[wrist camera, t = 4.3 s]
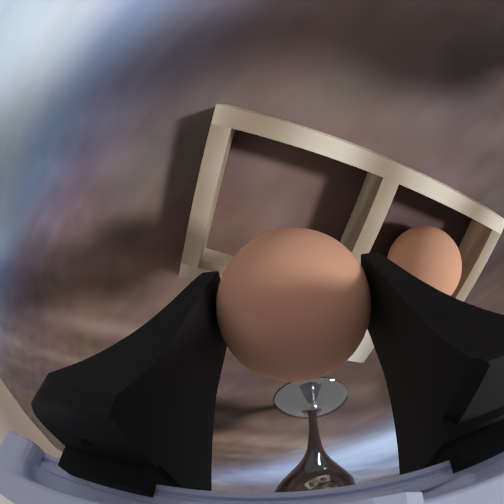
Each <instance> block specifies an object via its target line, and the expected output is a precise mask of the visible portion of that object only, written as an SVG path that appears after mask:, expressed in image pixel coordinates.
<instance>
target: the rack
mask: <svg viewBox="0 0 504 504" xmlns="http://www.w3.org/2000/svg"><path fill="white" fill-rule="evenodd" d="M235 129H236V130H240V131H244V132H247V133H251V134H255V135H259V136H262V137H266V138H269V139H273V140H276V141H280V142H283V143H286V144H289V145H293V146H296V147H299V148H302V149H305V150H309V151H312V152H315V153H318V154H321V155H324V156H326V157H329V158H332V159H335V160H338V161H341V162H344V163H346V164H349V165H352V166H354V167H357V168H360V169H362V170H365V171H368V173H367V175H366V178H365V180H364V183H363V186H362V188H361V191H360V193H359V196H358V198H357V201H356V204H355V206H354V209H353V211H352V213H351V216H350V218H349V221H348V223H347V226H346V228H345V230H344V233H343V235H342V238H341V240H340V243H341V244H343V245H344V246H345V247H346V248H347V249H348V250H349V251H350V252H351V253H352V254H353V255H354V256H355V258H356V259H357V260H358V262H359V263H360V265H361V254H366V253H369V252H370V250H371V248H372V246H373V244H374V242H375V239H376V237H377V235H378V233H379V231H380V228H381V226H382V224H383V222H384V219H385V217H386V215H387V212H388V210H389V208H390V205H391V203H392V201H393V198H394V196H395V193H396V191H397V188H398V186H399V184H400V185H402V186H404V187H407V188H409V189H411V190H414V191H416V192H418V193H420V194H423V195H425V196H427V197H429V198H431V199H433V200H436V201H438V202H440V203H442V204H444V205H446V206H448V207H450V208H452V209H454V210H456V211H458V212H460V213H462V214H464V215H466V216H468V217H470V218H472V220H471V222H470V224H469V226H468V228H467V231H466V233H465V235H464V237H463V239H462V241H461V243H460V245H459V247H458V249H459V252H460V255H461V260H462V273H461V278H460V281H459V283H458V286H457V288H456V289H455V291H454V292H453V294H452V295H451V296H452V297H454V298H456V299H458V300H460V301H463V302H464V300H465V299H466V297H467V295H468V294H469V292H470V290H471V289H472V287H473V285H474V284H475V282H476V280H477V279H478V277H479V275H480V273H481V272H482V270H483V268H484V266H485V264H486V262H487V261H488V259H489V257H490V255H491V253H492V251H493V249H494V247H495V245H496V243H497V241H498V239H499V237H500V235H501V233H502V230H503V228H504V219H503V218H502V217H501V216H499V215H498V214H496V213H495V212H493V211H492V210H490V209H489V208H487V207H486V206H484V205H482V204H481V203H479V202H477V201H475V200H474V199H472V198H470V197H468V196H466V195H465V194H463V193H461V192H459V191H457V190H455V189H453V188H452V187H450V186H448V185H446V184H444V183H442V182H440V181H438V180H436V179H434V178H432V177H430V176H428V175H426V174H424V173H422V172H419V171H417V170H415V169H413V168H411V167H409V166H407V165H404V164H402V163H400V162H398V161H395V160H393V159H391V158H388V157H386V156H384V155H381V154H379V153H376V152H374V151H372V150H369V149H367V148H364V147H362V146H359V145H356V144H354V143H351V142H349V141H346V140H343V139H340V138H338V137H335V136H332V135H329V134H326V133H324V132H321V131H318V130H315V129H312V128H309V127H306V126H303V125H299V124H296V123H293V122H290V121H286V120H283V119H280V118H276V117H273V116H269V115H266V114H262V113H258V112H255V111H251V110H247V109H243V108H239V107H235V106H231V105H227V104H216V106H215V110H214V114H213V118H212V122H211V126H210V130H209V133H208V138H207V142H206V146H205V150H204V154H203V158H202V163H201V167H200V171H199V176H198V180H197V185H196V189H195V194H194V199H193V203H192V208H191V213H190V218H189V223H188V228H187V233H186V238H185V244H184V249H183V255H182V260H181V266H180V272H179V277H180V278H183V279H187V280H190V281H193V280H194V279H195V278H197V277H198V276H199V275H200V274H201V273H204V272H214V271H218V272H219V276H220V279H221V278H222V275H223V273H224V271H225V269H226V267H227V265H228V264H229V262H230V261H231V260H232V258H233V257H234V256H233V255H229V254H226V253H222V252H218V251H215V250H211V249H207V248H206V245H207V241H208V236H209V232H210V228H211V224H212V219H213V215H214V211H215V207H216V203H217V199H218V195H219V191H220V187H221V183H222V179H223V175H224V171H225V167H226V163H227V159H228V155H229V152H230V148H231V144H232V140H233V137H234V133H235ZM373 348H374V345H373V342H372V340H371V337H370V334H369V332H368V329H367V331H366V333H365V336H364V338H363V340H362V342H361V343H360V345H359V347H358V348H357V350H356V351H355V352H354V354H353V355H352V356H351V357H350V358H349V359H348V361H354V362H360V363H363V362H364V361H365V359H366V358H367V357H368V355H369V354H370V352H371V351H372V350H373Z"/></svg>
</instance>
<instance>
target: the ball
mask: <svg viewBox="0 0 504 504" xmlns="http://www.w3.org/2000/svg"><path fill="white" fill-rule="evenodd" d="M387 258H388V259H389V260H391V261H392V262H394V263H395V264H397V265H398V266H400V267H401V268H403V269H404V270H406V271H407V272H409V273H410V274H412V275H414V276H415V277H417V278H418V279H420V280H422V281H423V282H425V283H427V284H429V285H430V286H432V287H434V288H436V289H437V290H439V291H441V292H443V293H445V294H447V295H450V296H451V295H452V294H453V292H454V291H455V289H456V288H457V286H458V283H459V281H460V278H461V273H462V260H461V255H460V252H459V249H458V247H457V245H456V244H455V242H454V241H453V239H452V238H451V237H450V236H449V235H448V234H446V233H445V232H444V231H442V230H440V229H438V228H435V227H431V226H417V227H413V228H411V229H408V230H407V231H405V232H404V233H402V234H401V235H400V236H399V237H398V238H397V239H396V240H395V241H394V243H393V244H392V246H391V248H390V250H389V252H388V256H387Z"/></svg>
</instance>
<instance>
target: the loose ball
mask: <svg viewBox="0 0 504 504" xmlns="http://www.w3.org/2000/svg"><path fill="white" fill-rule="evenodd" d="M216 314H217V321H218V325H219V328H220V331H221V334H222V337H223V339H224V341H225V342H226V344H227V346H228V348H229V349H230V351H231V352H232V353H233V354H234V356H235V357H236V358H237V359H238V360H239V361H240V362H241V363H242V364H243V365H245V366H246V367H247V368H249V369H250V370H252V371H253V372H255V373H257V374H259V375H261V376H263V377H266V378H269V379H272V380H276V381H281V382H305V381H310V380H314V379H317V378H320V377H322V376H325V375H327V374H329V373H331V372H333V371H334V370H336V369H337V368H339V367H340V366H341V365H343V364H344V363H345V362H346V361H347V360H348V359H349V358H350V357H351V356H352V355H353V354H354V352H355V351H356V350H357V348H358V347H359V345H360V343H361V342H362V340H363V338H364V336H365V333H366V331H367V328H368V325H369V320H370V315H371V294H370V287H369V284H368V281H367V278H366V275H365V272H364V270H363V268H362V266H361V265H360V263H359V262H358V260H357V259H356V258H355V256H354V255H353V254H352V253H351V252H350V251H349V250H348V249H347V248H346V247H345V246H344V245H343V244H341V243H340V242H339V241H337V240H336V239H334V238H332V237H331V236H329V235H327V234H324V233H321V232H319V231H316V230H312V229H307V228H283V229H277V230H273V231H270V232H267V233H265V234H262V235H260V236H258V237H257V238H255V239H253V240H252V241H250V242H249V243H247V244H246V245H245V246H243V247H242V248H241V249H240V250H239V251H238V252H237V253H236V254H235V256H234V257H233V258H232V260H231V261H230V262H229V264H228V265H227V267H226V269H225V271H224V273H223V275H222V278H221V280H220V283H219V286H218V292H217V298H216Z"/></svg>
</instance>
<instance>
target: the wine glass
mask: <svg viewBox="0 0 504 504" xmlns="http://www.w3.org/2000/svg"><path fill="white" fill-rule="evenodd" d="M347 397H348V391H347V388H346V387H345V385H344V384H342V383H341V382H339V381H337V380H334V379H331V378H326V377H320V378H317V379H314V380H310V381H305V382H291V383H289V384H287V385H285V386H284V387H282V388H281V389H280V390H279V391H278V392H277V393H276V395H275V398H274V404H275V406H276V408H277V409H278V410H279V411H280V412H281V413H283V414H285V415H287V416H290V417H294V418H301V419H309V437H308V446H307V451H306V453H305V455H304V457H303V459H302V460H301V461H300V463H299V464H298V465H297V466H296V467H295V468H294V469H293V470H292V471H291V472H290V473H289V474H288V475H287V476H286V477H285V478H284V479H283V480H282V481H281V482H280V483H279V485H278V486H277V487H276V489H275V491H274V493H275V492H296V491H309V490H319V489H328V488H336V487H343V486H349V485H355V484H360V483H359V481H358V480H357V478H356V477H355V476H353V475H352V474H351V473H350V472H348V471H347V470H345V469H344V468H343V467H341V466H340V465H338V464H337V463H336V462H334V461H333V460H332V459H331V458H330V457H329V456H328V455H327V454H326V452H325V451H324V449H323V447H322V443H321V440H320V435H319V430H318V424H317V418H318V417H322V416H325V415H328V414H330V413H333V412H334V411H336V410H338V409H339V408H340V407H341V406H342V405H343V404H344V403H345V402H346V400H347Z"/></svg>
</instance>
